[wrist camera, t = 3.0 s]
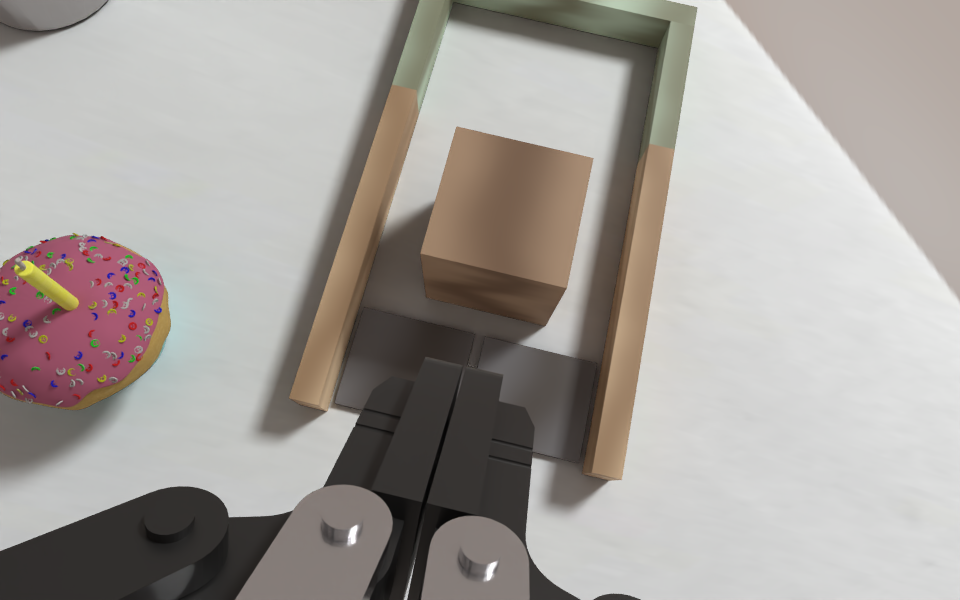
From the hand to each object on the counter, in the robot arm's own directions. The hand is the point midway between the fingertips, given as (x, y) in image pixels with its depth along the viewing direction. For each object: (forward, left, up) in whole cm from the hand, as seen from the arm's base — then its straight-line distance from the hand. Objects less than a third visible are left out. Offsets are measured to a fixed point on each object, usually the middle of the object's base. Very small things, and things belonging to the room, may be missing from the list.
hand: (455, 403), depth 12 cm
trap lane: (0, +15, -22) cm, 27 cm away
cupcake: (-19, +2, -22) cm, 30 cm away
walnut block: (0, +12, -22) cm, 25 cm away
